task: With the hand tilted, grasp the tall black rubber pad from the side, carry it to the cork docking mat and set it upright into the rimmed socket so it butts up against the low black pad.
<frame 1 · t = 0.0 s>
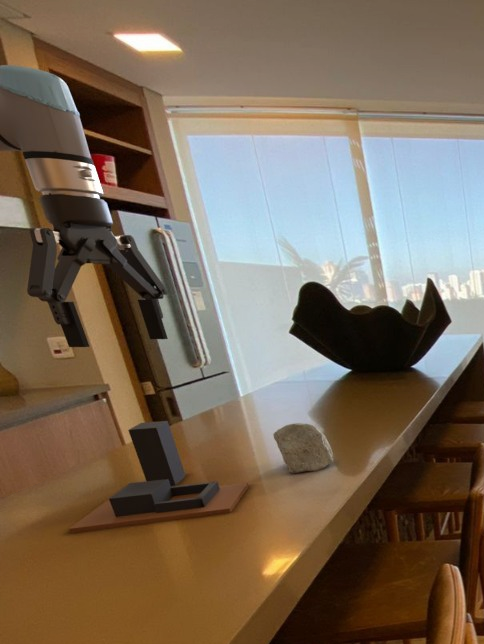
hand: (122, 343, 93), 25 cm above the counter, tool pointing down, fingers open, 13 cm apart
decorative stone: (310, 467, 114), on the counter
dock mat: (169, 508, 93), on the counter
tall black pad: (168, 483, 105), on the counter
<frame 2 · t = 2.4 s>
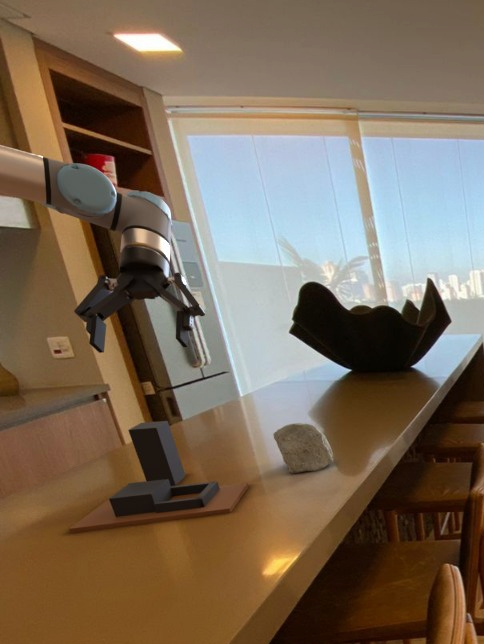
hand: (139, 345, 107), 24 cm above the counter, tool tilted 45°, fingers open, 13 cm apart
nothing on the counter moved.
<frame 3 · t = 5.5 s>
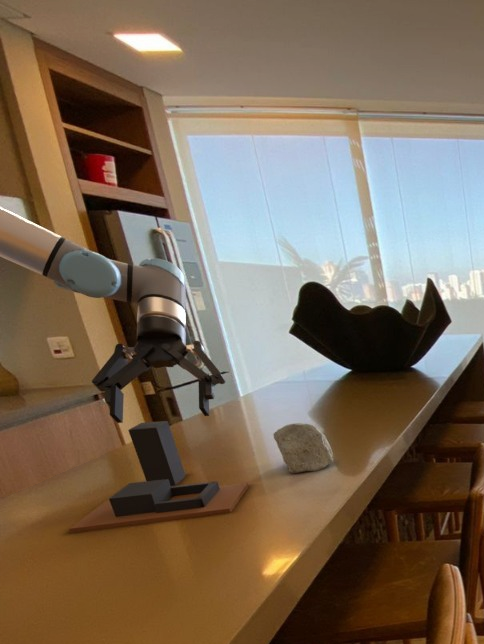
hand: (161, 415, 106), 11 cm above the counter, tool tilted 45°, fingers open, 13 cm apart
nothing on the counter moved.
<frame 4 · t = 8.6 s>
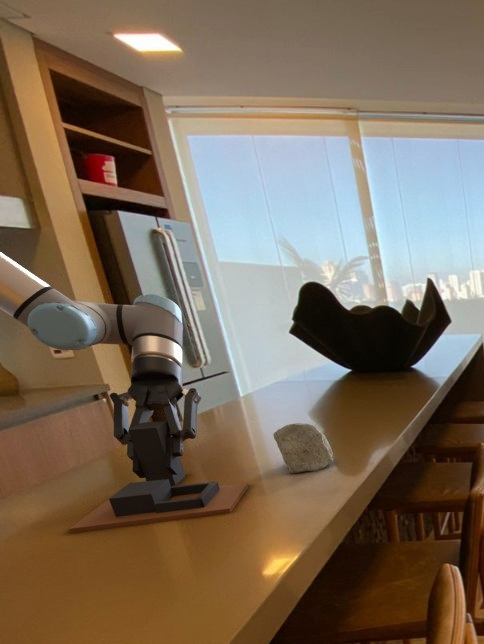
hand: (155, 472, 101), 3 cm above the counter, tool tilted 45°, fingers closed on tall black pad, 4 cm apart
tall black pad: (168, 483, 105), on the counter, touching gripper
everything else where it was.
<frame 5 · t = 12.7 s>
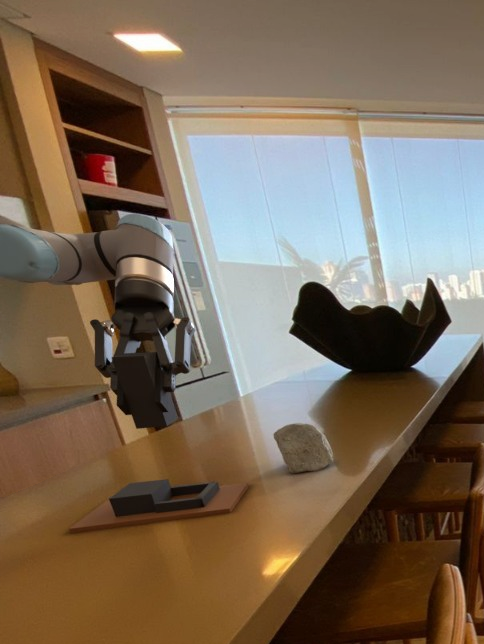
hand: (143, 408, 88), 16 cm above the counter, tool tilted 45°, fingers closed on tall black pad, 4 cm apart
tall black pad: (158, 423, 92), point 13 cm above the counter, touching gripper
everything else where it was.
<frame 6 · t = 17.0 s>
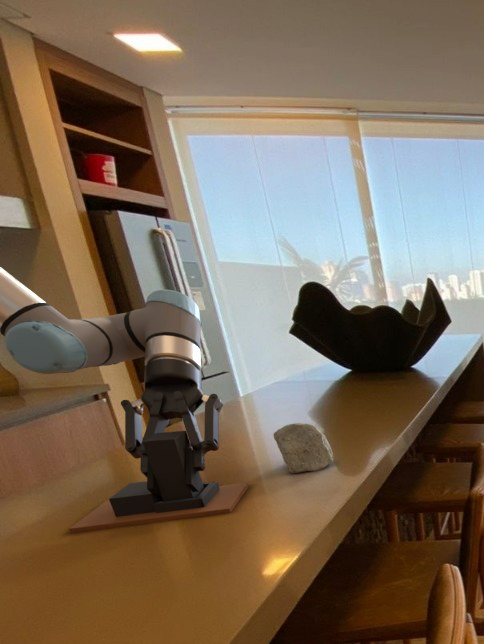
hand: (173, 489, 89), 4 cm above the counter, tool tilted 45°, fingers closed on tall black pad, 4 cm apart
tall black pad: (186, 500, 93), point 1 cm above the counter, touching dock mat, gripper
everything else where it was.
when the fingers open (4 cm above the counter, at t = 17.0 s): tall black pad stays where it is, resting on dock mat.
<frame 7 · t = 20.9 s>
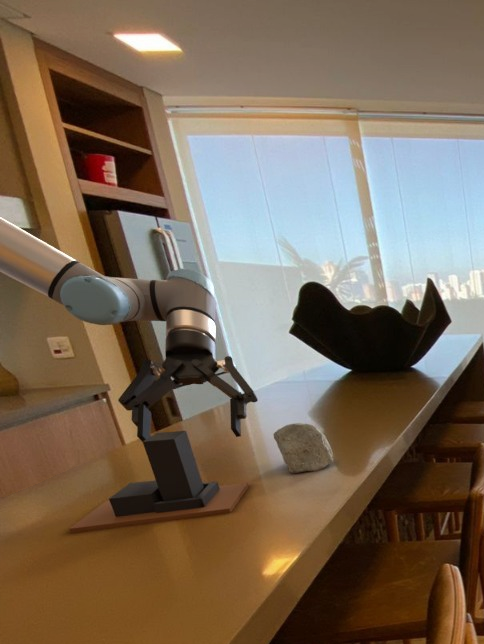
hand: (191, 436, 100), 9 cm above the counter, tool tilted 45°, fingers open, 13 cm apart
tall black pad: (186, 500, 93), point 1 cm above the counter, touching dock mat
everything else where it was.
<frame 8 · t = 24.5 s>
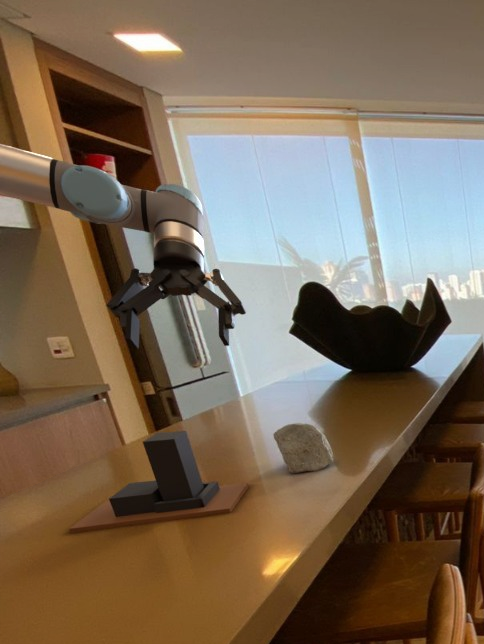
hand: (179, 342, 101), 25 cm above the counter, tool tilted 45°, fingers open, 13 cm apart
nothing on the counter moved.
at the end: tall black pad 0.1 cm from the target spot on the dock mat, point 1.0 cm above the dock mat's base; tall black pad tilted 0°; the gripper is holding nothing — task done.
